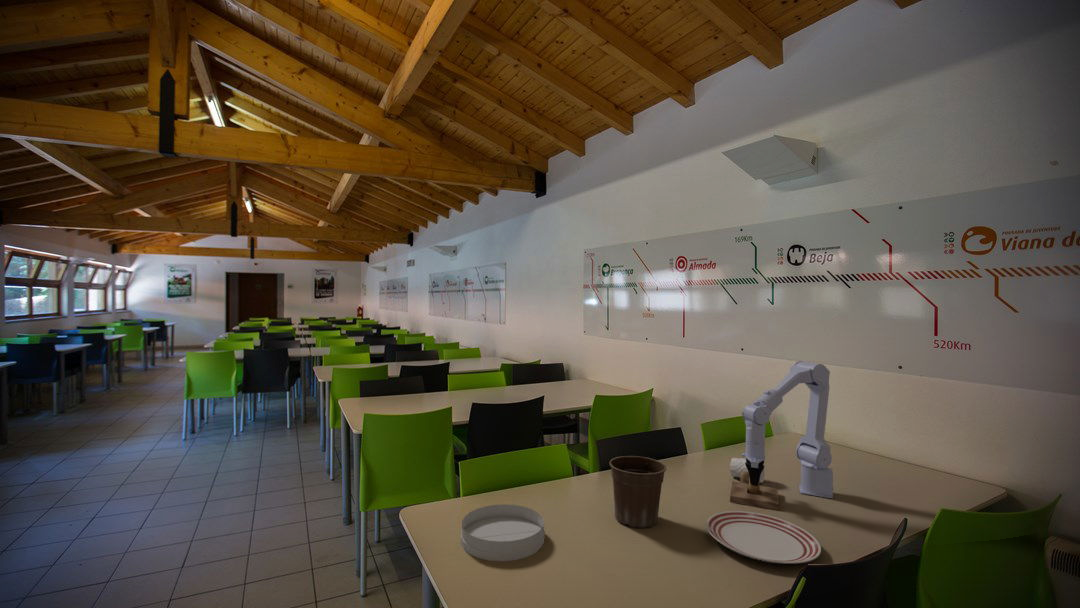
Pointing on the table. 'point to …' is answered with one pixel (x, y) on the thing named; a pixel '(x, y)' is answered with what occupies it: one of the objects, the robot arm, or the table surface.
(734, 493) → the wooden board with hole
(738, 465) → the white cup
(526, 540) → the dish
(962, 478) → the table surface
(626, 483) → the plant pot
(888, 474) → the table surface
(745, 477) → the short dowel
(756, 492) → the long dowel
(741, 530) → the dinner plate
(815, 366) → the robot arm
